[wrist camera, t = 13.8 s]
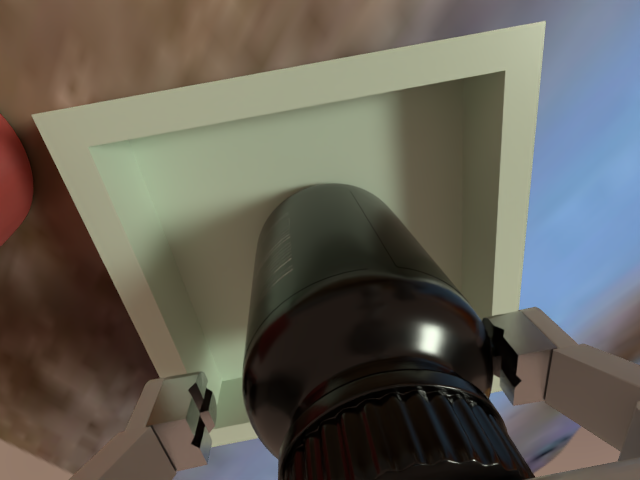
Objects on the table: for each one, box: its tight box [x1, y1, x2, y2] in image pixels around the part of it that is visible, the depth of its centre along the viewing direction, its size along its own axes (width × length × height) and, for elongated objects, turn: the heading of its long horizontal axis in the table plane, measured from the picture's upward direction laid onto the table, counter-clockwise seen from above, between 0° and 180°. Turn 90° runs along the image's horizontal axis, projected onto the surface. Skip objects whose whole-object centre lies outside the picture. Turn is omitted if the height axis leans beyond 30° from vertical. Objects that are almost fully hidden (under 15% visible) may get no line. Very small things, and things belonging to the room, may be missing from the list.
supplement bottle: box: [242, 183, 535, 480], centre depth 12 cm, size 7×7×12 cm
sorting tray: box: [32, 21, 546, 447], centre depth 16 cm, size 16×16×4 cm
